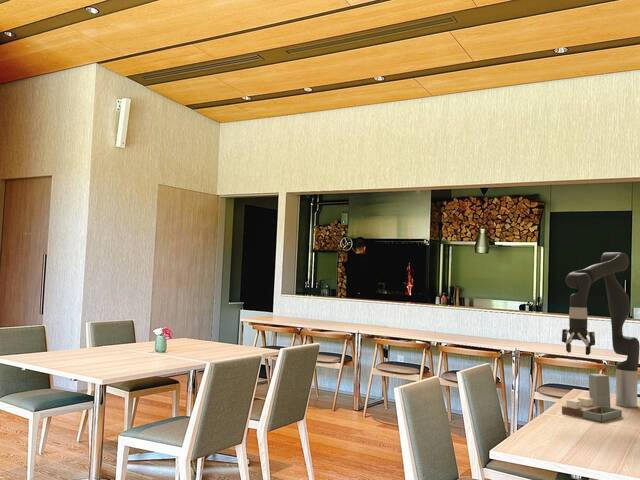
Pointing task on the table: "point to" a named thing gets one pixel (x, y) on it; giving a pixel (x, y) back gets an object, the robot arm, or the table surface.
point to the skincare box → (599, 390)
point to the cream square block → (573, 403)
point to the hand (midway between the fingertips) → (578, 353)
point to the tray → (603, 415)
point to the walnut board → (580, 410)
